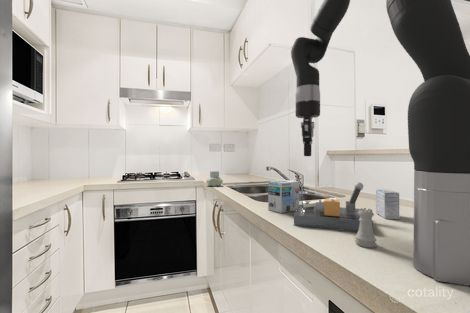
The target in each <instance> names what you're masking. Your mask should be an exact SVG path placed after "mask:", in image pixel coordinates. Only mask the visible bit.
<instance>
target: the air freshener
mask: <svg viewBox="0 0 470 313" xmlns="http://www.w3.org/2000/svg"><path fill="white" fill-rule="evenodd" d="M205 182H206V185H208V186H209V187H213V186H216V187H220V186H221V185H222V184H223V179H222V178H221V177H220V171H219V170H211V171H210V173H209V177H208V178H206V181H205Z"/></svg>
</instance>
